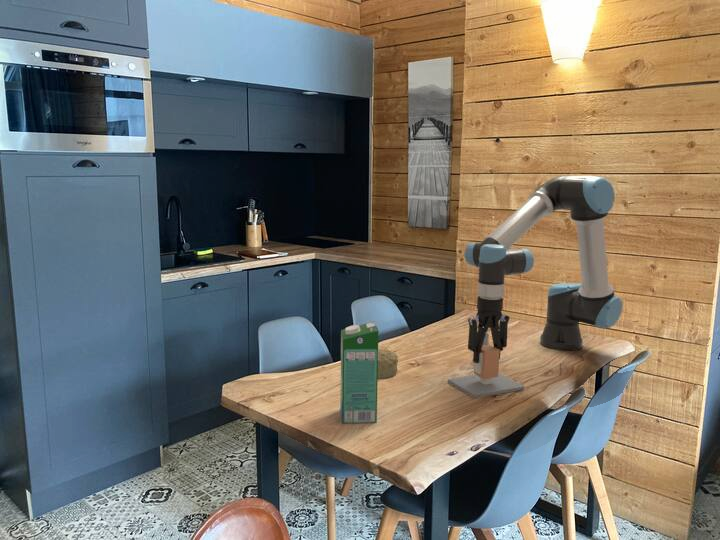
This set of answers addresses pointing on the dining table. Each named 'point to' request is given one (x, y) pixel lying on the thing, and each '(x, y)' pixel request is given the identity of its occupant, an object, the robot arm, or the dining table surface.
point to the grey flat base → (485, 385)
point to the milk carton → (359, 373)
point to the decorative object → (387, 363)
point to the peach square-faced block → (489, 362)
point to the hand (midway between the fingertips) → (486, 371)
